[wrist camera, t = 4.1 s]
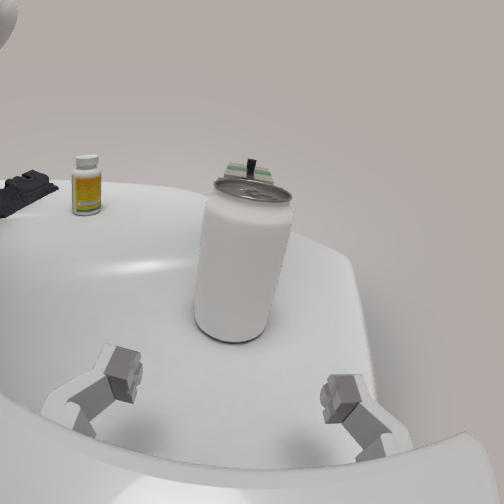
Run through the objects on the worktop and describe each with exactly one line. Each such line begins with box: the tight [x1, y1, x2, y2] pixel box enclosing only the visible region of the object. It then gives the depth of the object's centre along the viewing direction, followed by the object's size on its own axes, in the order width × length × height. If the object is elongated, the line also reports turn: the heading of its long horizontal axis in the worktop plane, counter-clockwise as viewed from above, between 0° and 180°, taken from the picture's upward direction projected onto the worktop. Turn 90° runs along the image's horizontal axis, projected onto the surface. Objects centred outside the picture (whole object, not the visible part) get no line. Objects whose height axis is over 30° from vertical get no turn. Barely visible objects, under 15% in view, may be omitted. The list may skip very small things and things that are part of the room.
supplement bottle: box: [72, 155, 101, 216], centre depth 39 cm, size 5×5×10 cm
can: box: [195, 179, 293, 343], centre depth 22 cm, size 6×6×12 cm
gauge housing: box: [224, 163, 274, 185], centre depth 39 cm, size 10×7×10 cm, turn 1°
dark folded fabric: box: [0, 170, 59, 218], centre depth 40 cm, size 15×22×5 cm
